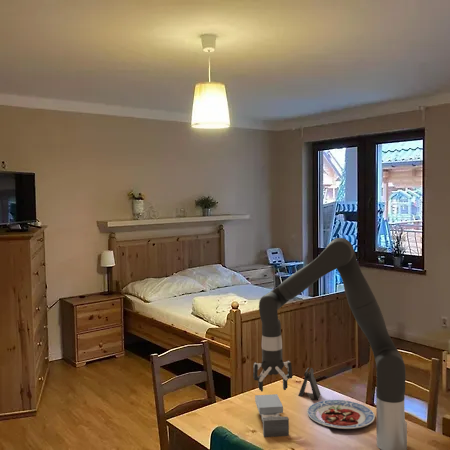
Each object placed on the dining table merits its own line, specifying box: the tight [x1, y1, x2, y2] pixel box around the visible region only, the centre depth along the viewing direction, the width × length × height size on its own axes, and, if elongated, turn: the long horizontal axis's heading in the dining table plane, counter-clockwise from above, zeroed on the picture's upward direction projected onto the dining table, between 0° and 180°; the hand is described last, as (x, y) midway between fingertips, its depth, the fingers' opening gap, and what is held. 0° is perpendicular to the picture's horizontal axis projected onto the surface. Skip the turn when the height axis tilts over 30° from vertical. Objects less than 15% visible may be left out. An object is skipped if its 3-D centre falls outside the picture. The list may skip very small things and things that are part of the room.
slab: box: [254, 393, 284, 415], centre depth 194 cm, size 9×12×2 cm
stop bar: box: [262, 416, 290, 438], centre depth 180 cm, size 9×2×7 cm, turn 94°
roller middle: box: [260, 413, 281, 423], centre depth 191 cm, size 7×4×4 cm, turn 94°
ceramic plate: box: [306, 399, 376, 430], centre depth 195 cm, size 26×26×3 cm
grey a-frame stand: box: [298, 367, 322, 401], centre depth 216 cm, size 9×6×12 cm, turn 70°
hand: (273, 390), depth 184 cm, fingers open, 8 cm apart
